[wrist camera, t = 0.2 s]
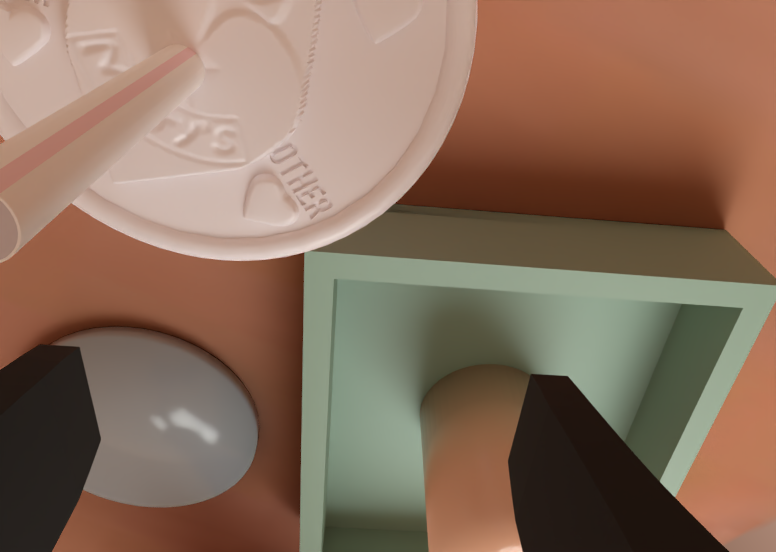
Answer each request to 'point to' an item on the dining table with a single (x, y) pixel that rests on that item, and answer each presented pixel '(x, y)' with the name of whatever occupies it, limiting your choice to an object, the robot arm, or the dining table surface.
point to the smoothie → (224, 116)
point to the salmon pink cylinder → (471, 458)
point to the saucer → (163, 418)
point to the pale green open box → (507, 345)
